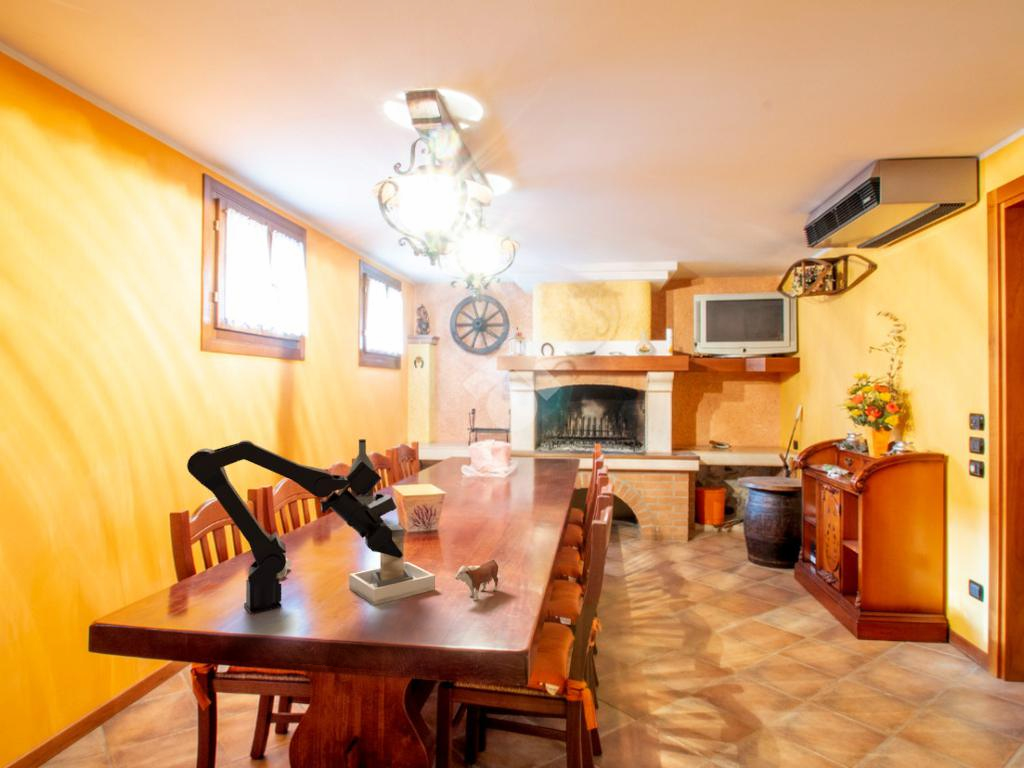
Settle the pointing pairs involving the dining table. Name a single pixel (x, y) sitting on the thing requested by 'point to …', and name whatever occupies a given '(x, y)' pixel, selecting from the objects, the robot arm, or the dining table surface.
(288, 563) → the pipe fitting
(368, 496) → the bottle
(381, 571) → the wooden block
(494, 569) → the bull figurine
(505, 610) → the dining table surface
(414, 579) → the walled box
